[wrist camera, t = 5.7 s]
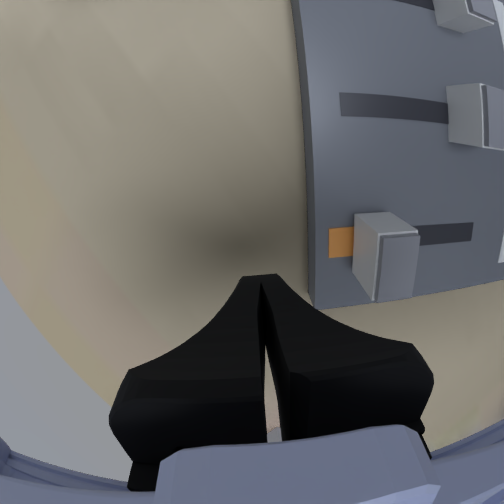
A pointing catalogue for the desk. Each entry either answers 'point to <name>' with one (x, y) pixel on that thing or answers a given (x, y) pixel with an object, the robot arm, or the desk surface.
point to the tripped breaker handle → (385, 255)
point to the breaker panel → (403, 136)
